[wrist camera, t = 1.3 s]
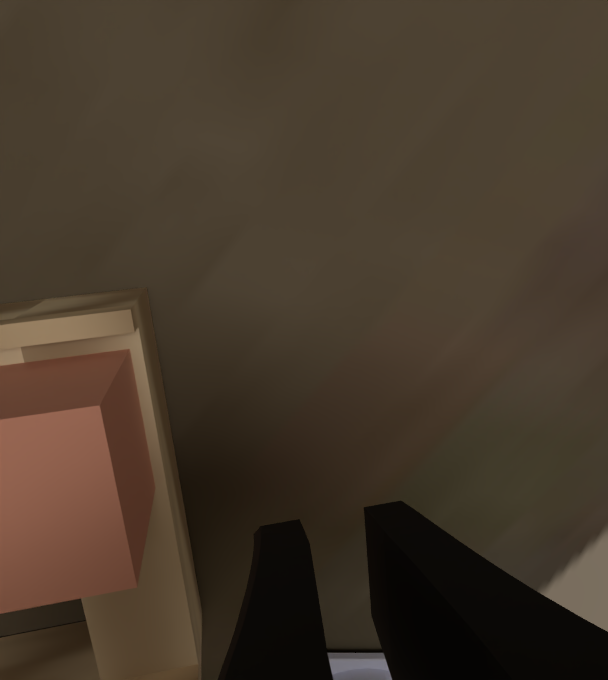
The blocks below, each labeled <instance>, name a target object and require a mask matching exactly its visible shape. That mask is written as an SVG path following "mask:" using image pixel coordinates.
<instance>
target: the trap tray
mask: <svg viewBox="0 0 608 680" xmlns="http://www.w3.org/2000/svg"><path fill="white" fill-rule="evenodd" d="M124 349H130V352H131V358H132V363H133V369H134V374H135V380H136V385H137V390H138V396H139V401H140V407H141V412H142V417H143V423H144V428H145V434H146V439H147V445H148V450H149V455H150V461H151V466H152V472H153V477H154V482H155V493H154V499H153V504H152V510H151V515H150V521H149V526H148V532H147V537H146V542H145V548H144V553H143V559H142V564H141V570H140V575H139V580H138V586H137V588H132V589H127V590H122V591H116V592H111V593H106V594H101V595H96V596H90V597H85V598H81V600H82V605H83V609H84V613H85V617H86V621H82V622H77V623H72V624H67V625H62V626H57V627H52V628H47V629H42V630H37V631H31V632H26V633H21V634H16V635H11V636H6V637H1V638H0V680H201V651H202V608H201V602H200V596H199V590H198V585H197V579H196V573H195V567H194V561H193V555H192V549H191V544H190V538H189V532H188V526H187V520H186V514H185V508H184V503H183V497H182V491H181V485H180V479H179V473H178V467H177V462H176V456H175V450H174V444H173V438H172V432H171V426H170V421H169V415H168V409H167V403H166V397H165V391H164V385H163V380H162V374H161V368H160V362H159V356H158V350H157V344H156V339H155V333H154V327H153V321H152V315H151V309H150V303H149V297H148V292H147V287H143V288H135V289H126V290H117V291H109V292H100V293H91V294H83V295H74V296H65V297H57V298H48V299H39V300H31V301H22V302H13V303H5V304H0V366H2V365H10V364H17V363H25V362H33V361H40V360H48V359H56V358H63V357H71V356H79V355H86V354H94V353H102V352H109V351H117V350H124Z"/></svg>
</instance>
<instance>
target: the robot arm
mask: <svg viewBox="0 0 608 680" xmlns="http://www.w3.org/2000/svg"><path fill="white" fill-rule="evenodd" d="M364 515H365V529H366V543H367V557H368V571H369V586H370V600H371V614H372V618H373V621H374V625H375V628H376V631H377V634H378V637H379V641H380V644H381V647H382V650H383V653H327V648H326V642H325V636H324V629H323V623H322V617H321V611H320V605H319V598H318V592H317V586H316V580H315V574H314V568H313V561H312V555H311V549H310V544H309V541H308V539H307V536H306V534H305V531H304V529H303V526H302V524H301V522H300V520H299V519H298V520H293V521H287V522H282V523H276V524H271V525H265V526H260V527H259V529H258V530H257V531H256V532H255V534H254V551H253V559H252V565H251V570H250V575H249V580H248V584H247V589H246V593H245V596H244V600H243V603H242V607H241V611H240V614H239V618H238V621H237V625H236V628H235V632H234V635H233V638H232V641H231V644H230V647H229V650H228V652H227V655H226V658H225V661H224V664H223V666H222V669H221V672H220V675H219V678H218V680H608V632H607V631H605V630H603V629H601V628H599V627H597V626H596V625H594V624H592V623H590V622H588V621H587V620H585V619H583V618H581V617H580V616H578V615H576V614H574V613H573V612H571V611H569V610H568V609H566V608H564V607H562V606H561V605H559V604H557V603H556V602H554V601H552V600H550V599H549V598H547V597H545V596H544V595H542V594H540V593H538V592H537V591H535V590H533V589H532V588H530V587H529V586H527V585H525V584H524V583H522V582H521V581H519V580H517V579H516V578H514V577H513V576H511V575H509V574H508V573H506V572H505V571H503V570H502V569H500V568H498V567H497V566H495V565H494V564H492V563H491V562H489V561H488V560H486V559H485V558H483V557H482V556H480V555H479V554H477V553H476V552H474V551H473V550H471V549H470V548H468V547H467V546H466V545H464V544H463V543H461V542H460V541H458V540H457V539H455V538H454V537H453V536H451V535H450V534H448V533H447V532H445V531H444V530H442V529H441V528H440V527H438V526H437V525H435V524H434V523H433V522H431V521H430V520H428V519H427V518H426V517H424V516H423V515H421V514H420V513H418V512H417V511H416V510H414V509H413V508H411V507H410V506H408V505H407V504H405V503H404V502H402V501H397V502H391V503H386V504H380V505H375V506H369V507H364Z"/></svg>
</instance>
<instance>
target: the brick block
mask: <svg viewBox="0 0 608 680" xmlns="http://www.w3.org/2000/svg"><path fill="white" fill-rule="evenodd" d="M154 493H155V482H154V477H153V472H152V466H151V461H150V455H149V450H148V445H147V439H146V434H145V428H144V423H143V417H142V412H141V407H140V401H139V396H138V390H137V385H136V380H135V374H134V369H133V363H132V358H131V352H130V349H124V350H117V351H109V352H102V353H94V354H86V355H79V356H71V357H63V358H56V359H48V360H40V361H33V362H25V363H17V364H10V365H2V366H0V614H2V613H7V612H12V611H18V610H23V609H28V608H33V607H38V606H44V605H49V604H54V603H59V602H64V601H70V600H75V599H80V598H85V597H90V596H96V595H101V594H106V593H111V592H116V591H122V590H127V589H132V588H137V586H138V580H139V575H140V570H141V564H142V559H143V553H144V548H145V542H146V537H147V532H148V526H149V521H150V515H151V510H152V504H153V499H154Z"/></svg>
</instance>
